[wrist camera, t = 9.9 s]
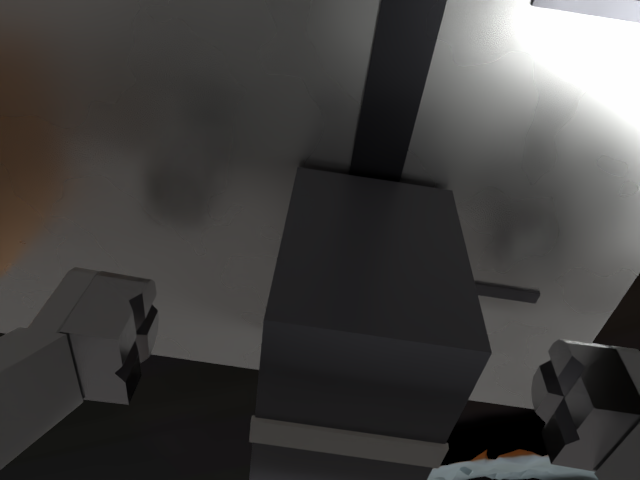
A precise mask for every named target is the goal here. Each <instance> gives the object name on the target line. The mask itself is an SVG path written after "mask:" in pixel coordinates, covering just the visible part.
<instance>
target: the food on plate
mask: <svg viewBox="0 0 640 480" xmlns="http://www.w3.org/2000/svg"><path fill="white" fill-rule="evenodd" d="M486 454H487V450H486V451H484V452H483V453H481V454H480V455H478V456H477V457H475V458H474V459H472V460H471V461H464V462H457V463H454V464H450V465H444V466H440V467H439V469H438V468H433V469H432V471H431V473H430V475H429V477H428V479H427V480H468V479H472V478H476V477H483V476H486V477H489V478H491V479H495V478H496V479H498V480H501V479H509V480H511V479H530V478H537V479H541V480H599V479H598V478H597V477H596V475H595V474H594V473H595V472H594V471H588V470H582V469H576V468H570V467H564V466H558V465H552V464H551V463H550V459H549V456H548V455H545V456H543V457H542V456H540V455H537V454H535V453H533V452H530V451H526V450H521V449H518V450H515V451H513V452H510V453H506V454H503V455H499V456H498V457H497V459H496V460H493V459H488V457H487V455H486Z"/></svg>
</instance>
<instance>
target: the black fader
mask: <svg viewBox="0 0 640 480" xmlns="http://www.w3.org/2000/svg"><path fill="white" fill-rule="evenodd" d="M491 354H492V351H491V347H490V343H489V339H488V335H487V331H486V327H485V322H484V318H483V314H482V310H481V306H480V302H479V298H478V294H477V290H476V286H475V282H474V277H473V273H472V269H471V265H470V261H469V257H468V253H467V249H466V245H465V241H464V236H463V232H462V228H461V224H460V220H459V216H458V212H457V208H456V204H455V200H454V196H453V191H452V190H446V189H439V188H433V187H426V186H419V185H413V184H406V183H400V182H393V181H386V180H380V179H373V178H367V177H360V176H353V175H347V174H340V173H334V172H327V171H320V170H314V169H307V168H301V167H297V171H296V176H295V180H294V185H293V190H292V194H291V199H290V203H289V208H288V212H287V217H286V221H285V226H284V230H283V235H282V239H281V244H280V248H279V253H278V257H277V262H276V266H275V271H274V275H273V280H272V284H271V289H270V293H269V298H268V302H267V307H266V311H265V316H264V321H263V333H262V344H261V355H260V366H259V377H258V388H257V400H256V411H255V415H252V418H251V426H250V438H249V442H253V444H252V455H251V467H250V478H249V480H427V479H428V477H429V475H430V473H431V471H432V469H433V468H438V469H439V467H440V465H441V463H442V461H443V459H444V457H445V455H446V453H447V452H448V450H449V446H448V443H446V442H447V440H448V438H449V436H450V434H451V432H452V430H453V428H454V426H455V424H456V422H457V420H458V418H459V416H460V414H461V412H462V411H463V409H464V407H465V405H466V403H467V401H468V399H469V397H470V395H471V393H472V391H473V389H474V387H475V385H476V383H477V381H478V379H479V377H480V375H481V373H482V371H483V370H484V368H485V366H486V364H487V362H488V360H489V358H490V356H491Z"/></svg>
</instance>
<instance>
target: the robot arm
mask: <svg viewBox="0 0 640 480" xmlns="http://www.w3.org/2000/svg"><path fill="white" fill-rule="evenodd" d="M156 295H157V293H156V286H155V282H154V281H153V280H151V279H146V278H140V277H134V276H128V275H122V274H116V273H110V272H104V271H95V270H90V269H84V268H78V267H75V268H73V269H71V270H70V271H68V272H67V274H66V275H65V277H64V278H63V279H62V281H61V282H60V284H59V285H58V286H57V288H56V289H55V291H54V292H53V293H52V295H51V296H50V297H49V299H48V300H47V302H46V303H45V304H44V306H43V307H42V309H41V310H40V311H39V313H38V314H37V316H36V317H35V318H34V320H33V321H32V322H31V324H30V325H29V327H28V328H21V327H19V328H17V329H15V330H13V331H11V332H9V333H7V334H5V335H3V336H2V337H0V470H1V469H2V468H3V467H4V466H5V465H7V464H8V463H9V462H10V461H12V460H13V459H14V458H15V457H16V456H18V455H19V454H20V453H21V452H23V451H24V450H25V449H26V448H27V447H29V446H30V445H31V444H32V443H34V442H35V441H36V440H37V439H39V438H40V437H41V436H42V435H43V434H45V433H46V432H47V431H48V430H50V429H51V428H52V427H53V426H54V425H56V424H57V423H58V422H59V421H61V420H62V419H63V418H64V417H66V416H67V415H68V414H69V413H70V412H72V411H73V410H74V409H75V408H77V407H78V406H79V405H80V404H81V403H83V399H84V400H93V401H102V402H110V403H119V404H128V405H129V403H130V401H131V398H132V396H133V394H134V391H135V389H136V387H137V385H138V382H139V380H140V378H141V367H140V363H141V362H143V361H144V360H146V359H147V358H149V357H150V354H151V352H152V350H153V347H154V345H155V340H156V336H157V332H158V323H159V316H158V310H157V309H156V308H155V307H154V306H153V305H152V303H153V301H154V299H155V297H156ZM548 353H549V356H550V358H551V360H549V361H548V362H546V363H544V364H542V365H540V366H539V367H538V369H537V371H536V373H535V374H534V376H533V381H532V387H531V395H532V403H533V406H534V410H535V412H536V414H537V415H538V416H539V417H540V418H541V419H542V420H543V421H544V422H545V423H546V424H545V426H544V428H543V430H542V432H541V433H542V437H543V440H544V443H545V446H546V450H547V453H548V456H549V459H550V463H551V464H552V465H558V466H564V467H570V468H576V469H582V470H588V471H594V472H595V473H594V474H595V475H596V477H597V478H598V479H599V480H640V351H639V350H637V349H632V348H624V347H617V346H607V345H601V344H594V343H587V342H579V341H572V340H565V339H558V340H557V341H555V342H554V343H553V344H552V346H551V347H550V349H549V350H548Z"/></svg>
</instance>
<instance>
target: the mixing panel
mask: <svg viewBox="0 0 640 480" xmlns="http://www.w3.org/2000/svg"><path fill="white" fill-rule="evenodd" d="M297 167H301V168H307V169H314V170H320V171H327V172H334V173H340V174H347V175H353V176H360V177H367V178H373V179H380V180H386V181H393V182H400V183H406V184H413V185H419V186H426V187H433V188H439V189H446V190H452V191H453V196H454V200H455V204H456V208H457V212H458V216H459V220H460V224H461V228H462V232H463V236H464V241H465V245H466V249H467V253H468V257H469V261H470V265H471V269H472V273H473V277H474V282H475V286H476V290H477V294H478V298H479V302H480V306H481V310H482V314H483V318H484V322H485V327H486V331H487V335H488V339H489V343H490V347H491V351H492V354H491V356H490V358H489V360H488V362H487V364H486V366H485V368H484V370H483V371H482V373H481V375H480V377H479V379H478V381H477V383H476V385H475V387H474V389H473V391H472V393H471V395H470V397H469V399H468V400H474V401H481V402H488V403H494V404H501V405H508V406H515V407H522V408H529V409H534V406H533V403H532V395H531V387H532V381H533V376H534V374H535V373H536V371H537V369H538V367H539V366H540V365H542V364H544V363H546V362H548V361H549V360H551V358H550V356H549V353H548V350H549V349H550V347H551V346H552V344H553V343H554V342H555V341H557V340H558V339H565V340H572V341H579V342H587V343H592V342H593V340H594V339H595V337H596V336H597V334H598V333H599V331H600V330H601V329H602V327H603V326H604V324H605V323H606V321H607V320H608V318H609V317H610V315H611V314H612V312H613V311H614V309H615V308H616V307H617V305H618V304H619V302H620V301H621V299H622V298H623V296H624V295H625V293H626V292H627V290H628V289H629V287H630V286H631V285H632V283H633V282H634V280H635V279H636V277H637V276H638V274H639V273H640V0H0V333H9V332H11V331H13V330H15V329H17V328H19V327H21V328H28V327H29V325H30V324H31V322H32V321H33V320H34V318H35V317H36V316H37V314H38V313H39V311H40V310H41V309H42V307H43V306H44V304H45V303H46V302H47V300H48V299H49V297H50V296H51V295H52V293H53V292H54V291H55V289H56V288H57V286H58V285H59V284H60V282H61V281H62V279H63V278H64V277H65V275H66V274H67V272H68V271H70V270H71V269H73V268H75V267H78V268H84V269H90V270H95V271H104V272H110V273H116V274H122V275H128V276H134V277H140V278H146V279H151V280H153V281H154V282H155V286H156V293H157V295H156V297H155V299H154V301H153V303H152V305H153V306H154V307H155V308H156V309H157V310H158V316H159V323H158V332H157V336H156V340H155V345H154V347H153V350H152V352H151V354H153V355H160V356H167V357H174V358H181V359H188V360H195V361H202V362H209V363H216V364H223V365H230V366H237V367H244V368H251V369H258V370H259V366H260V355H261V344H262V333H263V321H264V316H265V311H266V307H267V302H268V298H269V293H270V289H271V284H272V280H273V275H274V271H275V266H276V262H277V257H278V253H279V248H280V244H281V239H282V235H283V230H284V226H285V221H286V217H287V212H288V208H289V203H290V199H291V194H292V190H293V185H294V180H295V176H296V171H297Z"/></svg>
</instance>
